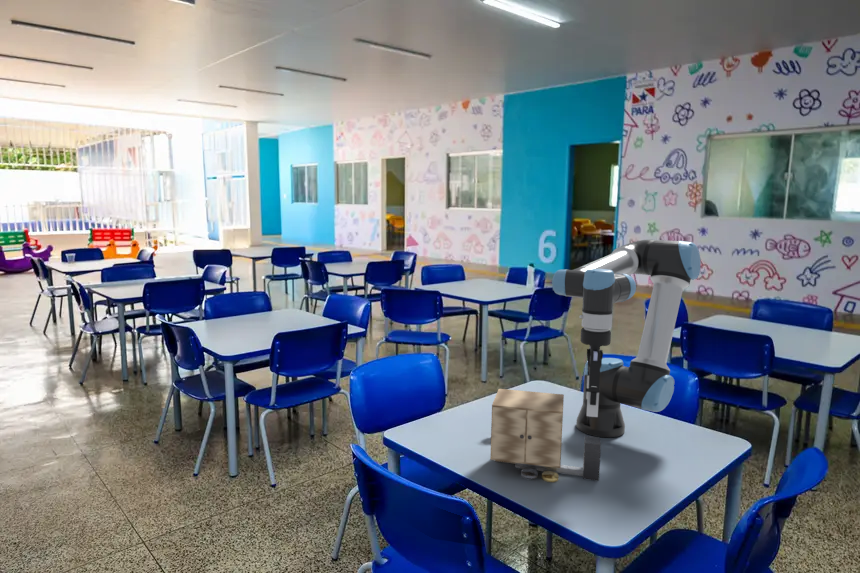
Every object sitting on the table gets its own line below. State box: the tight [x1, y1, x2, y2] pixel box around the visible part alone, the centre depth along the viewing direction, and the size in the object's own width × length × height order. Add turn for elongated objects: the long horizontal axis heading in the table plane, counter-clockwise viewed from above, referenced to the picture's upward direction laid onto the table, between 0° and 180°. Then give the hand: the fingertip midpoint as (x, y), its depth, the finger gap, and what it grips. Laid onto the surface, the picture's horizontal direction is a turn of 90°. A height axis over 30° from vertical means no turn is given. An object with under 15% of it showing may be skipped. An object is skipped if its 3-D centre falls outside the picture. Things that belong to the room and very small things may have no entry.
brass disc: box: [541, 471, 560, 483], centre depth 148 cm, size 4×4×1 cm
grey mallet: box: [515, 435, 602, 482], centre depth 152 cm, size 22×5×10 cm, turn 76°
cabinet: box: [490, 388, 565, 468], centre depth 151 cm, size 18×15×20 cm
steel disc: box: [520, 469, 539, 481], centre depth 150 cm, size 4×4×1 cm
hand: (591, 407), depth 148 cm, fingers open, 13 cm apart
